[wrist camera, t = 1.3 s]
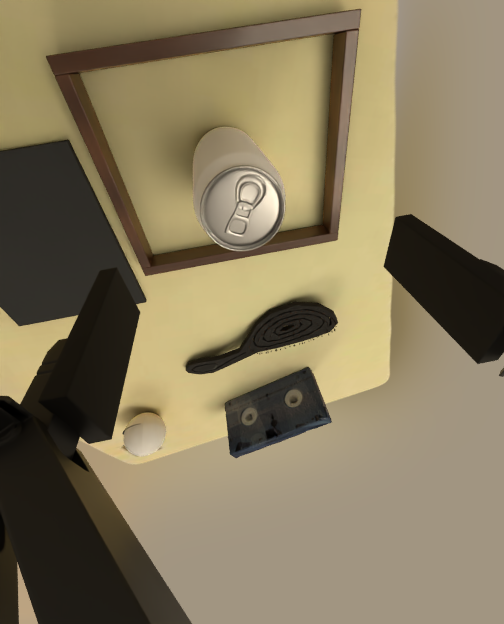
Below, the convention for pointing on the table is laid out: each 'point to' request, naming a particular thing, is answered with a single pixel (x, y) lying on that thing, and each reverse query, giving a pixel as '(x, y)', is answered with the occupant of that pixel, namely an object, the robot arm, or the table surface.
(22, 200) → the mat
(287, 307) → the hairbrush
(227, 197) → the can
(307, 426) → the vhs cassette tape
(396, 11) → the table surface
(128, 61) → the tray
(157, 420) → the seamed sphere
